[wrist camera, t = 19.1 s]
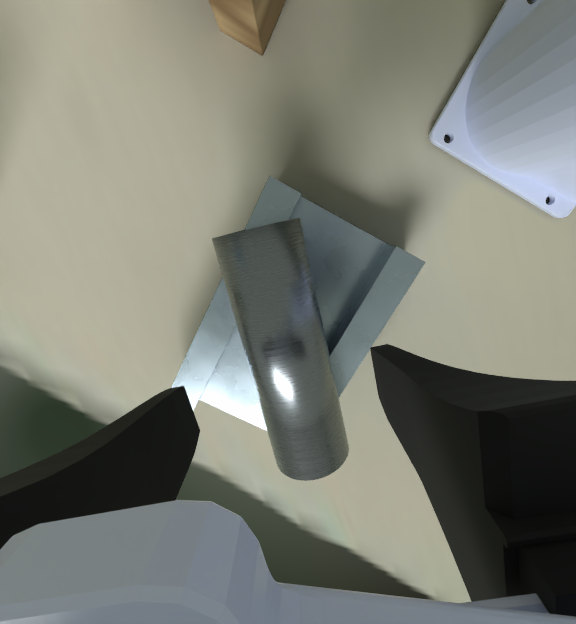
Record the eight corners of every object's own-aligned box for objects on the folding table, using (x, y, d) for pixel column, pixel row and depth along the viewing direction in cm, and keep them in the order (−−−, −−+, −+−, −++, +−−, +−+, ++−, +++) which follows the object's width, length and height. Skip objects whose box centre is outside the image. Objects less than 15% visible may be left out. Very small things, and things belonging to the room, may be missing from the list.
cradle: (402, 255, 19) (425, 262, 16) (297, 426, 23) (298, 461, 19) (274, 185, 18) (269, 175, 15) (185, 374, 22) (165, 400, 19)
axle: (278, 224, 16) (316, 213, 13) (323, 418, 19) (364, 453, 16) (204, 241, 15) (224, 234, 11) (265, 448, 18) (296, 494, 14)
